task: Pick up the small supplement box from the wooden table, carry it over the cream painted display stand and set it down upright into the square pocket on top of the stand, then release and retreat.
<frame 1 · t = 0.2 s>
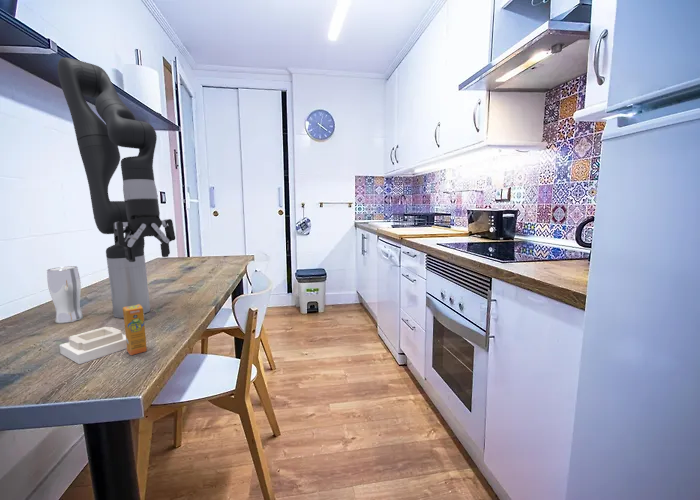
hand: (149, 259, 89), 17 cm above the table, tool pointing down, fingers open, 8 cm apart
display stand: (97, 349, 73), on the table
supplement box: (137, 352, 72), on the table
beer glass: (69, 320, 94), on the table
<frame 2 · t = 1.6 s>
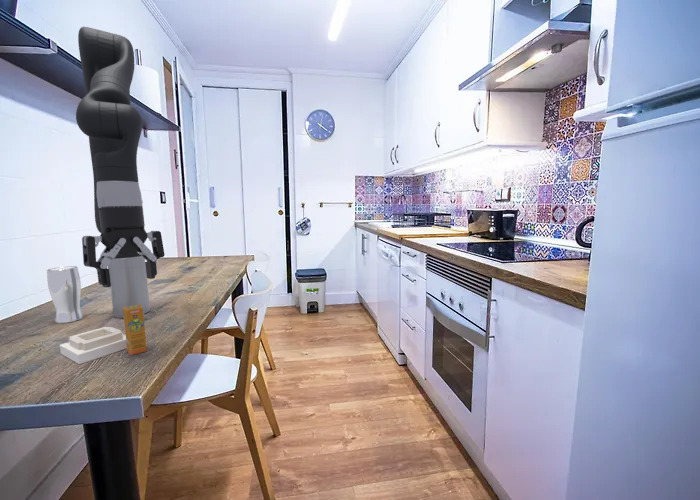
hand: (129, 282, 70), 15 cm above the table, tool pointing down, fingers open, 8 cm apart
nothing on the table moved.
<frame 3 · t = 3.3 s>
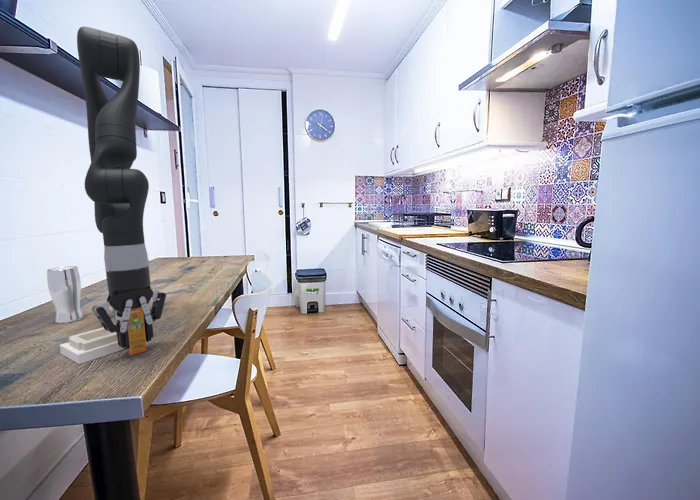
hand: (136, 343, 71), 2 cm above the table, tool pointing down, fingers closed on supplement box, 3 cm apart
supplement box: (137, 352, 72), on the table, touching gripper
everything else where it was.
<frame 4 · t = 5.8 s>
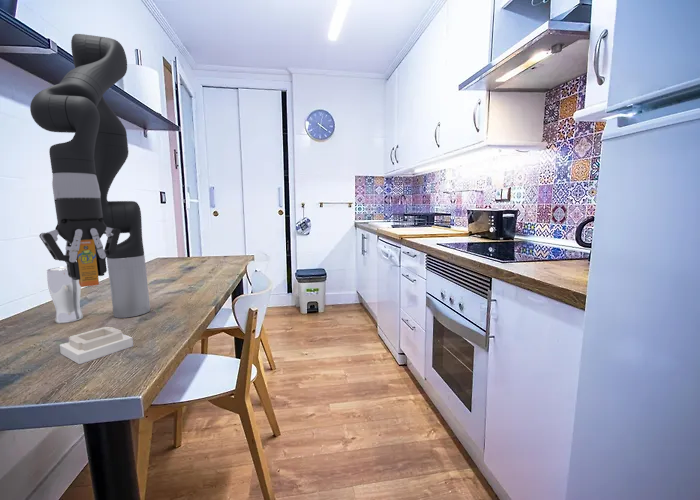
hand: (88, 277, 71), 16 cm above the table, tool pointing down, fingers closed on supplement box, 3 cm apart
supplement box: (89, 285, 71), point 14 cm above the table, touching gripper
everything else where it was.
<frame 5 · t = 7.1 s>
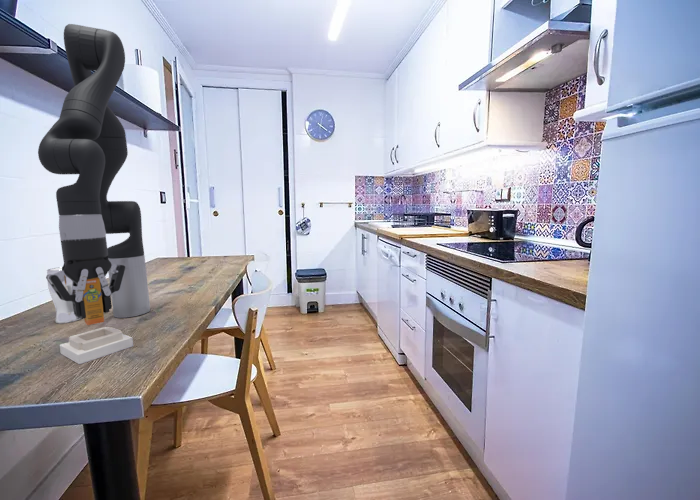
hand: (94, 314, 72), 8 cm above the table, tool pointing down, fingers closed on supplement box, 3 cm apart
supplement box: (95, 323, 72), point 6 cm above the table, touching gripper
everything else where it was.
when the fingers open (5 cm above the table, at t = 8.1 s): supplement box stays where it is, resting on display stand.
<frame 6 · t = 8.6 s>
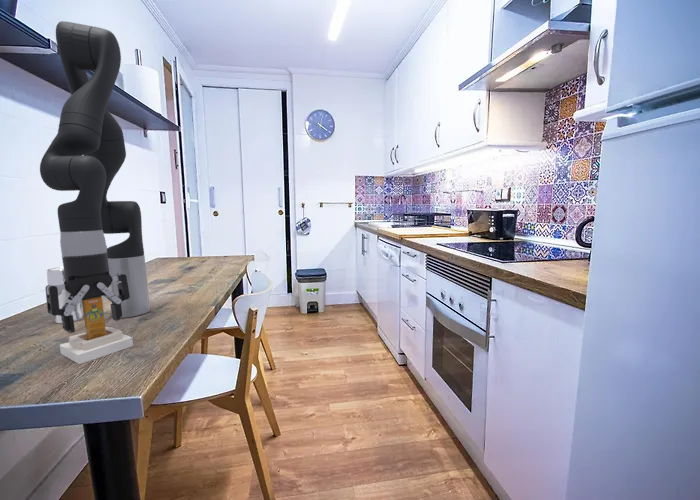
hand: (94, 325, 72), 6 cm above the table, tool pointing down, fingers open, 8 cm apart
supplement box: (97, 341, 73), point 2 cm above the table, touching display stand
everything else where it was.
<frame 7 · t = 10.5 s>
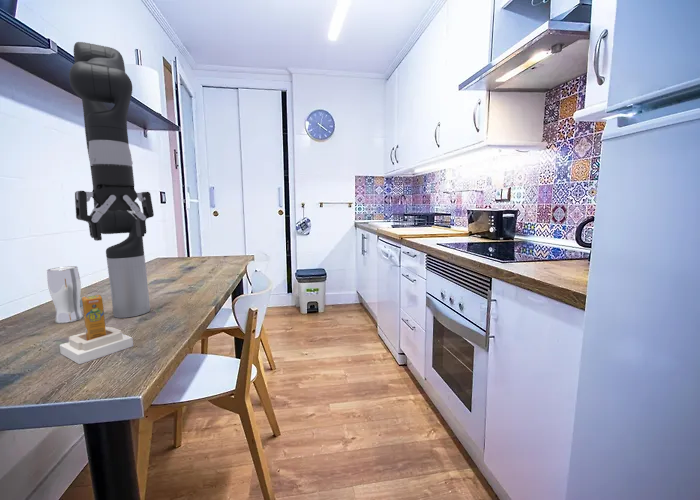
hand: (120, 238, 74), 24 cm above the table, tool pointing down, fingers open, 8 cm apart
nothing on the table moved.
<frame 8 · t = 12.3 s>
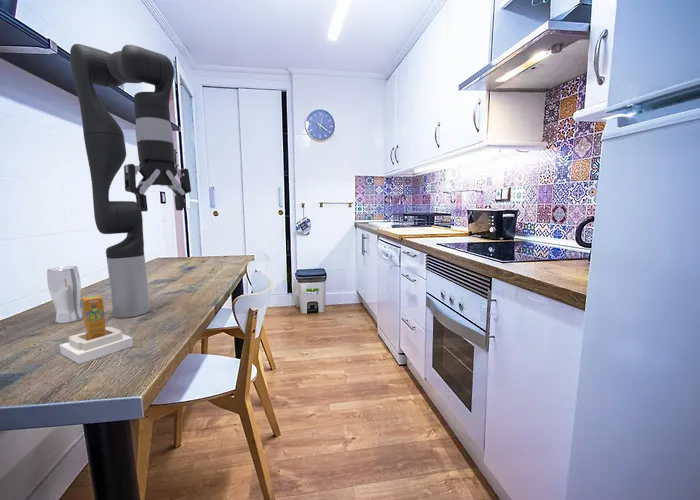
hand: (162, 210, 80), 30 cm above the table, tool pointing down, fingers open, 8 cm apart
nothing on the table moved.
at the end: supplement box 0.1 cm off-centre on the display stand, point 1.8 cm above the display stand's base; supplement box tilted 0°; the gripper is holding nothing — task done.
